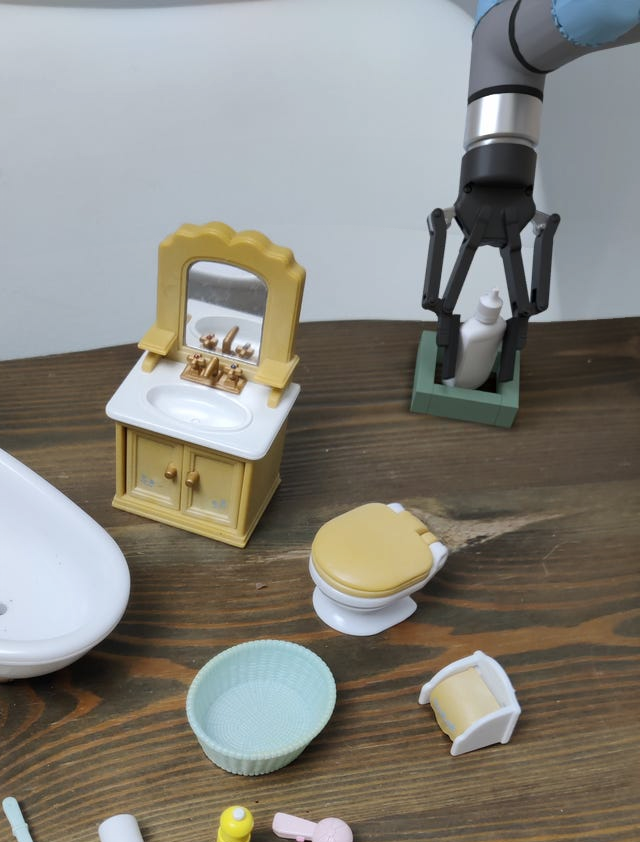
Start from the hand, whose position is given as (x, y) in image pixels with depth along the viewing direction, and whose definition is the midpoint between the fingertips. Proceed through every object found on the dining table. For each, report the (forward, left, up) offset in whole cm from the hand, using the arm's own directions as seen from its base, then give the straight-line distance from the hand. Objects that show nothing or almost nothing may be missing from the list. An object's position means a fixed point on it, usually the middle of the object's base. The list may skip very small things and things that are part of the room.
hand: (476, 379), depth 106 cm
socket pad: (+1, -4, -5) cm, 6 cm away
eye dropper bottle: (+1, -4, -4) cm, 5 cm away
